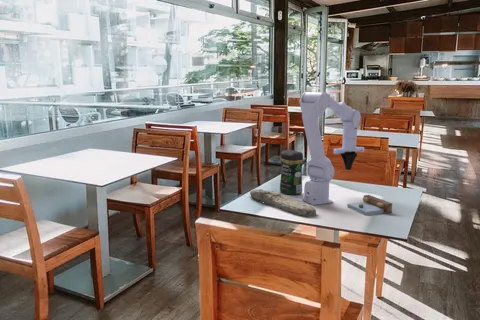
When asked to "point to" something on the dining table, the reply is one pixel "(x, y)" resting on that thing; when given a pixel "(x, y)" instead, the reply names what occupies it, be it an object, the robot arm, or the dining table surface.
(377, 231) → the dining table surface
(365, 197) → the brown long block
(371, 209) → the door panel
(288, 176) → the coffee jar
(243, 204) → the dining table surface
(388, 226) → the dining table surface
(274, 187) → the dining table surface
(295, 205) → the long grey stone
